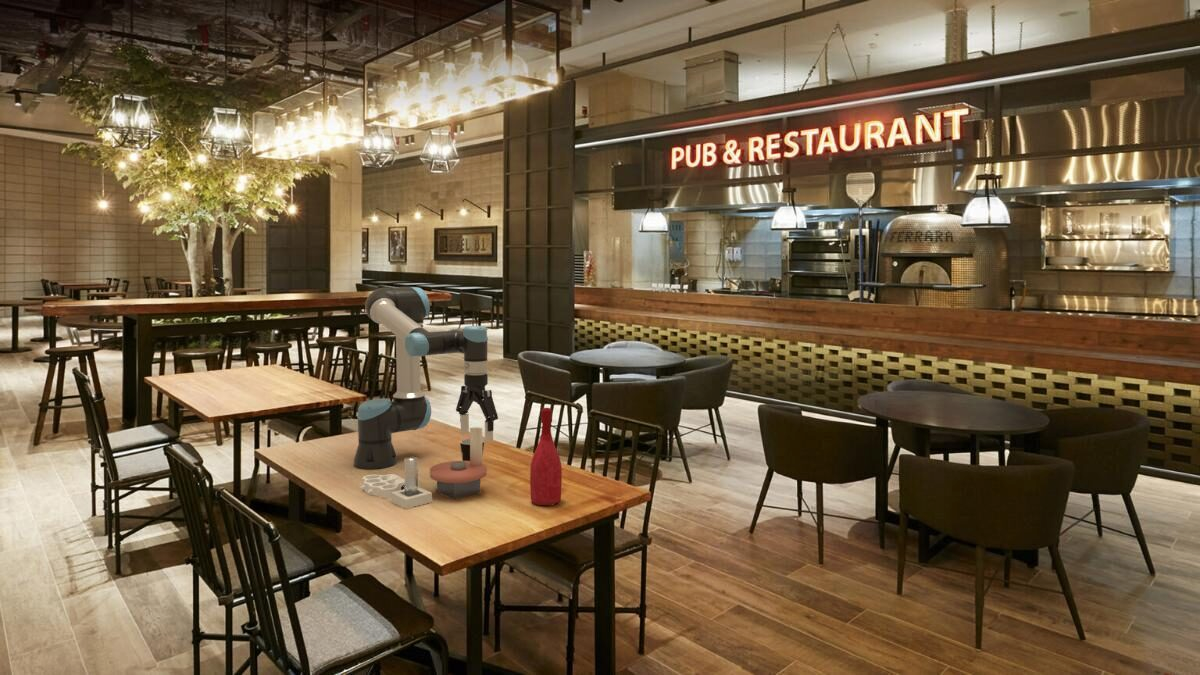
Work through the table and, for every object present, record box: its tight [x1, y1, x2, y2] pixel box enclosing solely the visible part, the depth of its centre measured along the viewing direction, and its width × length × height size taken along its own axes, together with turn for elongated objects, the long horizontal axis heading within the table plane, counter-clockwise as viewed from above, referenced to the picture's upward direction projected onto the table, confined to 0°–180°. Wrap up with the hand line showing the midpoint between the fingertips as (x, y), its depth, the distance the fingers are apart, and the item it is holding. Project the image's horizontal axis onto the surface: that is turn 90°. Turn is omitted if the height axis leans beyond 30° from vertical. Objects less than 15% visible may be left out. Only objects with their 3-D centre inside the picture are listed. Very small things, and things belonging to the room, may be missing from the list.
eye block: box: [390, 486, 433, 510], centre depth 223 cm, size 9×9×3 cm
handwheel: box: [429, 426, 487, 483], centre depth 232 cm, size 18×18×14 cm
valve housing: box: [436, 479, 481, 500], centre depth 233 cm, size 10×10×6 cm
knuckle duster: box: [359, 473, 405, 499], centre depth 235 cm, size 3×18×15 cm
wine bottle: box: [529, 407, 563, 506], centre depth 224 cm, size 10×10×30 cm
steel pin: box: [403, 456, 419, 497], centre depth 223 cm, size 4×4×14 cm
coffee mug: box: [459, 438, 485, 461], centre depth 261 cm, size 12×9×10 cm
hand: (476, 437), depth 236 cm, fingers open, 13 cm apart
